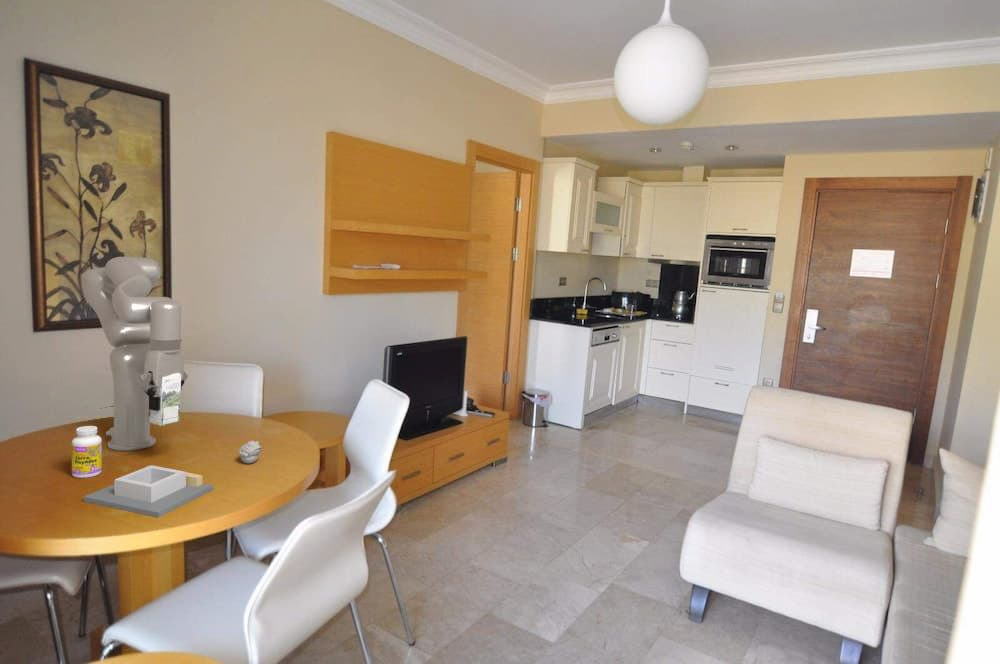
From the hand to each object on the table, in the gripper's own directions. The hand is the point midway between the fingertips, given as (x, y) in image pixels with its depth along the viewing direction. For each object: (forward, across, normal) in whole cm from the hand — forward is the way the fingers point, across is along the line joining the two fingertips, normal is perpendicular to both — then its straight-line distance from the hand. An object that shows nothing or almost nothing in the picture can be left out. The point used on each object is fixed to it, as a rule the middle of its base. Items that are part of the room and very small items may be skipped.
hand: (164, 406), depth 167 cm
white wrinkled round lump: (+17, -12, +20) cm, 29 cm away
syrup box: (+5, 0, 0) cm, 5 cm away
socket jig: (+17, +18, +13) cm, 28 cm away
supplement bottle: (+18, +14, -12) cm, 25 cm away
